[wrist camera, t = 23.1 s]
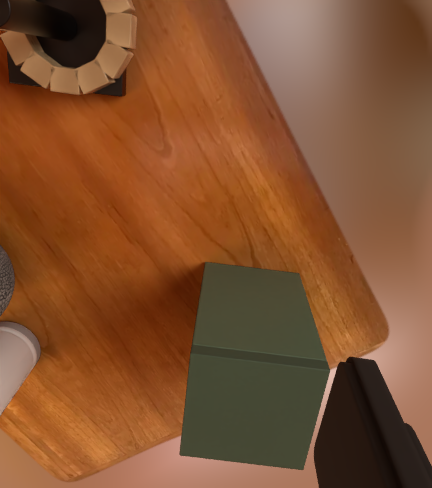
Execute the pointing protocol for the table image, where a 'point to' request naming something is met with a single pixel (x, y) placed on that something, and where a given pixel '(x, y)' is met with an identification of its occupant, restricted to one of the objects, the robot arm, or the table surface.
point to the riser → (253, 369)
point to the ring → (86, 76)
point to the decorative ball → (5, 280)
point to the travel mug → (15, 359)
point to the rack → (60, 34)
